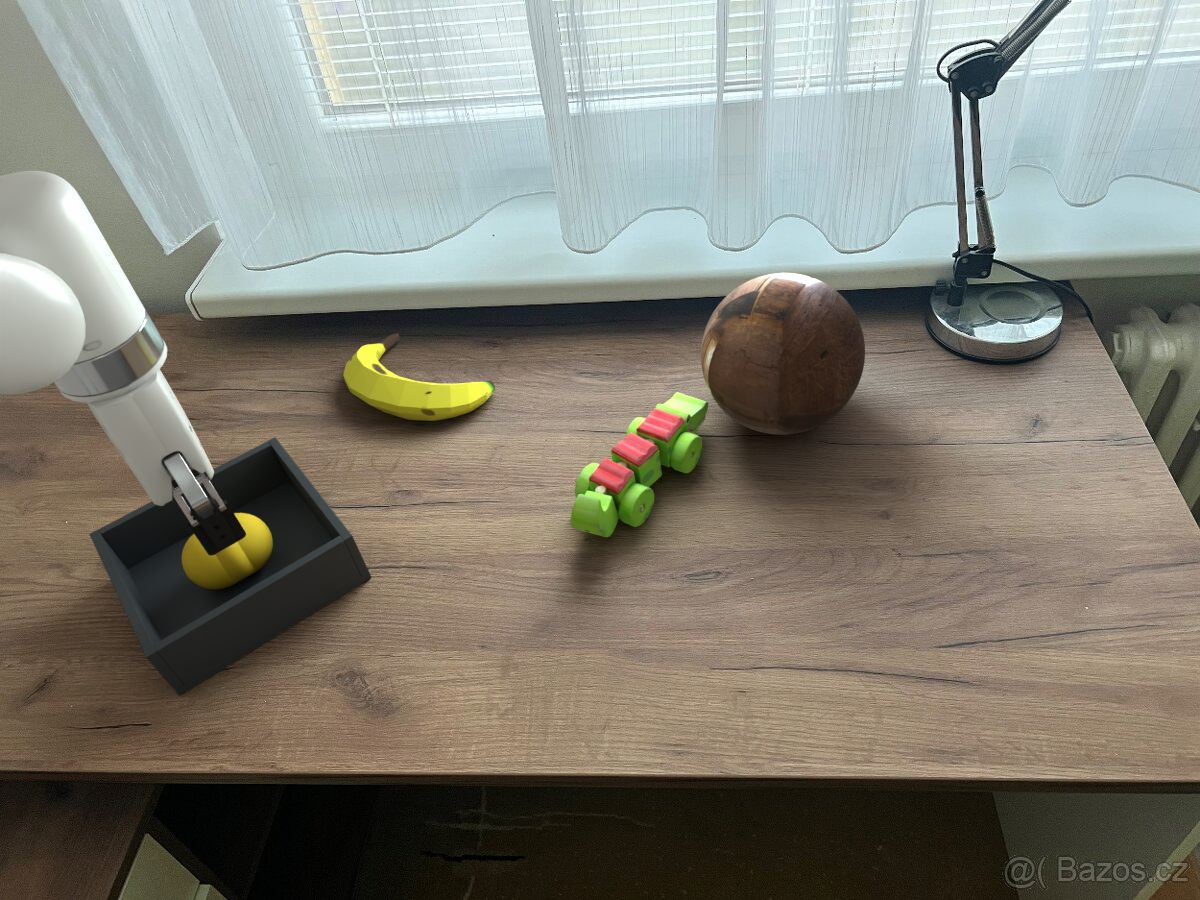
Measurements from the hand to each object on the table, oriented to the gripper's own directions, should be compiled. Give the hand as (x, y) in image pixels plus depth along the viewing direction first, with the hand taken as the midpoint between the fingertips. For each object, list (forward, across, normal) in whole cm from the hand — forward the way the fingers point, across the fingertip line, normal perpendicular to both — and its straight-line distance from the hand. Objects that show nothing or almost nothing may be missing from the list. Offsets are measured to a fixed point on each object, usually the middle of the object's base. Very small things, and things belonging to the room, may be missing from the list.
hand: (206, 510), depth 73 cm
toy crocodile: (+9, +16, +33) cm, 38 cm away
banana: (+9, -12, +26) cm, 30 cm away
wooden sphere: (+9, +18, +49) cm, 53 cm away
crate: (+9, 0, 0) cm, 9 cm away
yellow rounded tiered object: (+8, 0, 0) cm, 8 cm away
